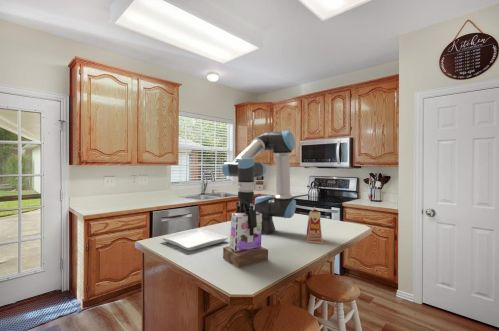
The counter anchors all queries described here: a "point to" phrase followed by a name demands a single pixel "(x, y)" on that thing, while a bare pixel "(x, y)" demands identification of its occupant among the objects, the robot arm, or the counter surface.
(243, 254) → the walnut block
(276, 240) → the counter surface
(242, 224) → the candy box
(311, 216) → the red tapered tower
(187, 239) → the square plate
